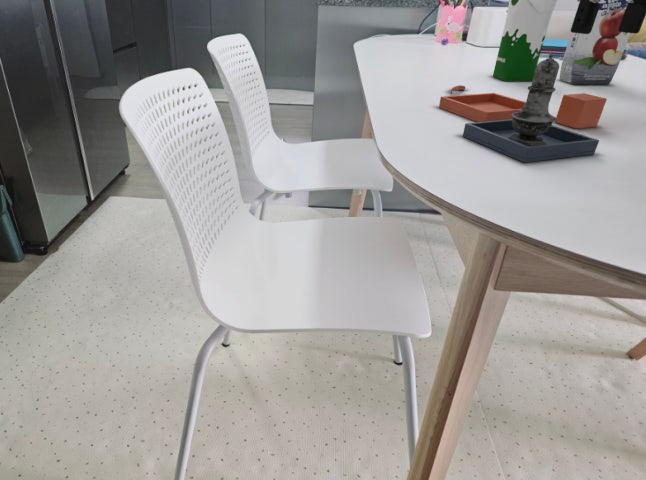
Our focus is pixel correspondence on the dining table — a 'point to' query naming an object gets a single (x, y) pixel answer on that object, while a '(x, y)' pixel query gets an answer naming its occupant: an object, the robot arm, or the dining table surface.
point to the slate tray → (556, 146)
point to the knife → (457, 90)
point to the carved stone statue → (536, 106)
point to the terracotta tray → (482, 106)
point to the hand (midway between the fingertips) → (604, 32)
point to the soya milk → (523, 39)
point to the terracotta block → (580, 110)
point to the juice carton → (596, 47)
